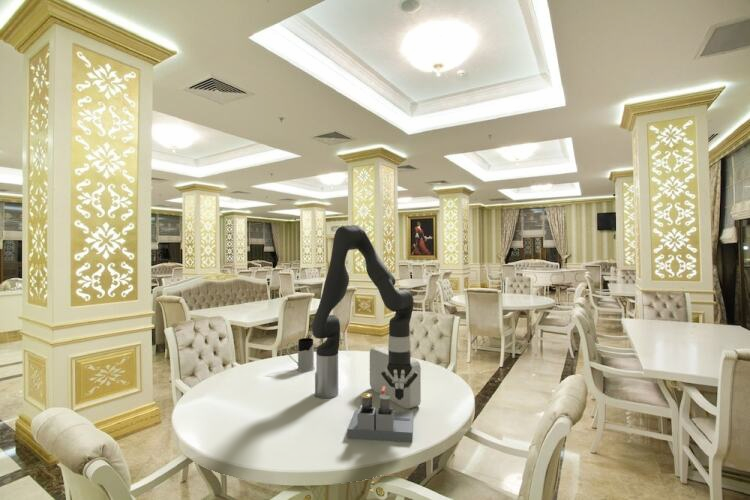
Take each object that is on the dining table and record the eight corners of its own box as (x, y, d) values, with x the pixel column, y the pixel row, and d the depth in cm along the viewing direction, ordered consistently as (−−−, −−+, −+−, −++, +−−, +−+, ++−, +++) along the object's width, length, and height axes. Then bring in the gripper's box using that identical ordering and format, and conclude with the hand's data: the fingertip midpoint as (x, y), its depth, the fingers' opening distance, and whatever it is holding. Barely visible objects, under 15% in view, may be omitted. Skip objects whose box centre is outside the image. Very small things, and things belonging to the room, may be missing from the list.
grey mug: (313, 371, 190) (312, 341, 190) (284, 371, 190) (284, 341, 190) (315, 366, 199) (315, 337, 199) (288, 366, 199) (288, 337, 199)
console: (347, 438, 123) (347, 413, 123) (355, 417, 138) (355, 395, 138) (412, 442, 120) (412, 416, 120) (413, 420, 135) (413, 398, 135)
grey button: (379, 413, 123) (379, 397, 123) (380, 408, 126) (380, 393, 126) (390, 413, 122) (390, 398, 122) (390, 409, 126) (390, 393, 126)
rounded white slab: (425, 406, 148) (425, 360, 148) (410, 411, 144) (410, 363, 144) (383, 384, 172) (383, 345, 172) (369, 388, 167) (369, 347, 167)
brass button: (360, 412, 123) (360, 396, 123) (362, 407, 127) (362, 392, 127) (371, 412, 123) (371, 397, 123) (373, 408, 127) (372, 393, 127)
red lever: (378, 420, 128) (378, 390, 128) (379, 414, 133) (379, 386, 133) (387, 420, 128) (387, 391, 128) (388, 415, 132) (388, 386, 132)
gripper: (379, 350, 127) (379, 402, 127) (418, 351, 125) (418, 404, 125) (381, 345, 134) (381, 393, 134) (418, 346, 133) (419, 395, 133)
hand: (399, 398), depth 130 cm, fingers closed
